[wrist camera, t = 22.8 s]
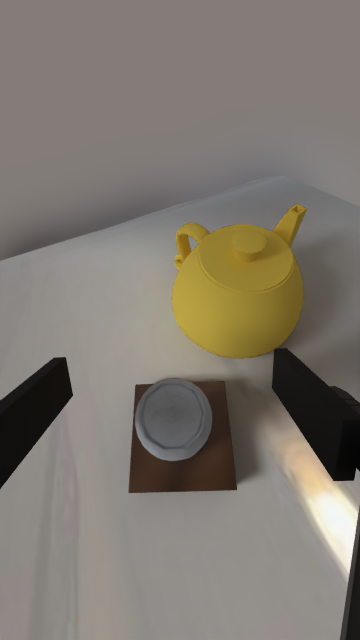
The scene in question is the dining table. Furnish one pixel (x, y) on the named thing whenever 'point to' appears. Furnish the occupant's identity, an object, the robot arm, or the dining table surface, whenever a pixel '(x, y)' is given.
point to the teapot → (239, 286)
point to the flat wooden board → (197, 471)
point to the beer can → (173, 419)
